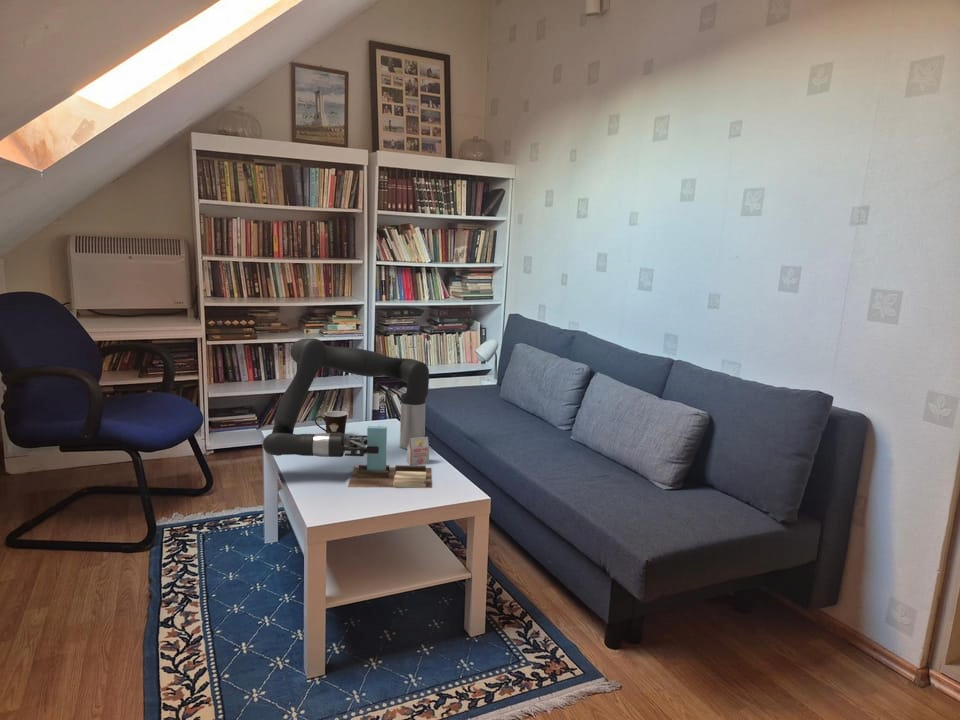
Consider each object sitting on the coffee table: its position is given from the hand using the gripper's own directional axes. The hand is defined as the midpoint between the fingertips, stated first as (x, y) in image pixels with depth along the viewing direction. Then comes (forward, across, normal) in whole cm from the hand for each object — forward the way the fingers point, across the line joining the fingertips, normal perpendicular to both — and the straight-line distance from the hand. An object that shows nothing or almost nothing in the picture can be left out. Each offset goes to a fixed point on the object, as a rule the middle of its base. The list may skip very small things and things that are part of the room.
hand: (379, 445), depth 205 cm
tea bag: (+12, +12, +11) cm, 21 cm away
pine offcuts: (+10, -8, +10) cm, 16 cm away
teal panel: (-1, 0, +10) cm, 10 cm away
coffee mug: (-21, +42, +11) cm, 48 cm away
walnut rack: (+4, -2, +11) cm, 12 cm away
